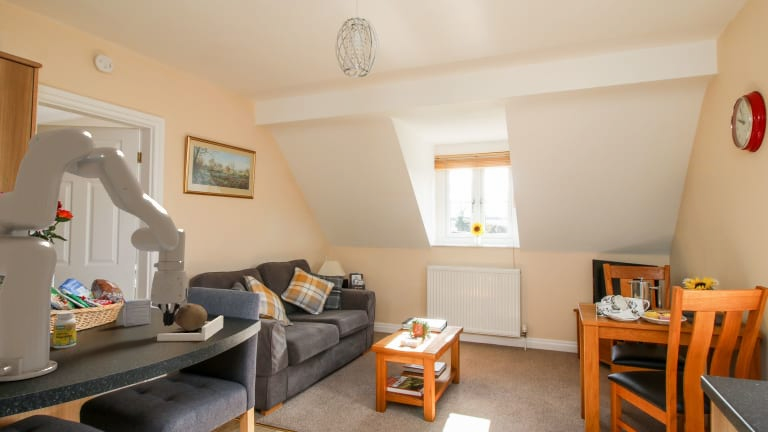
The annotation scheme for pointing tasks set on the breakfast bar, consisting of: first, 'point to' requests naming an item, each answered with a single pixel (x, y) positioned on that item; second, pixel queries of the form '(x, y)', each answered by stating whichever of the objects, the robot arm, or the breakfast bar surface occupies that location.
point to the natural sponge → (191, 317)
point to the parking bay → (207, 332)
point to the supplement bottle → (64, 330)
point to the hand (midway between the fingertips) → (168, 324)
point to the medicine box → (136, 312)
